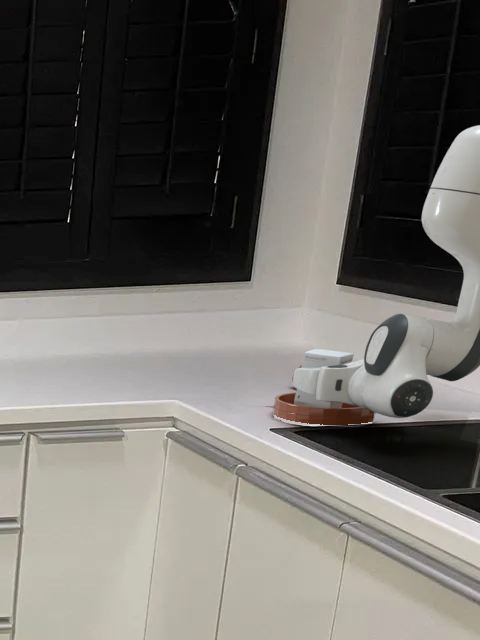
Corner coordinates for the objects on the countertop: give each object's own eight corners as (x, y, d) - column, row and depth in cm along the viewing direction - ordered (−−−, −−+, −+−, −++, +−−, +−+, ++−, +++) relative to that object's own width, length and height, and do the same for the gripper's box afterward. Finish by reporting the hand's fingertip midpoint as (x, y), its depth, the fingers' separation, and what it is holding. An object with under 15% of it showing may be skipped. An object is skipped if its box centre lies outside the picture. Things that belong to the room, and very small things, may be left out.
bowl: (379, 415, 242) (383, 396, 240) (366, 432, 228) (370, 411, 227) (282, 407, 252) (284, 389, 251) (263, 423, 238) (266, 404, 237)
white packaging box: (290, 413, 242) (302, 351, 237) (304, 408, 247) (316, 347, 242) (328, 419, 237) (341, 356, 232) (341, 413, 242) (355, 352, 237)
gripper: (426, 365, 221) (387, 354, 234) (315, 368, 222) (283, 357, 235) (420, 398, 223) (382, 385, 236) (310, 401, 224) (278, 388, 237)
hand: (332, 371), depth 236 cm, fingers open, 8 cm apart
